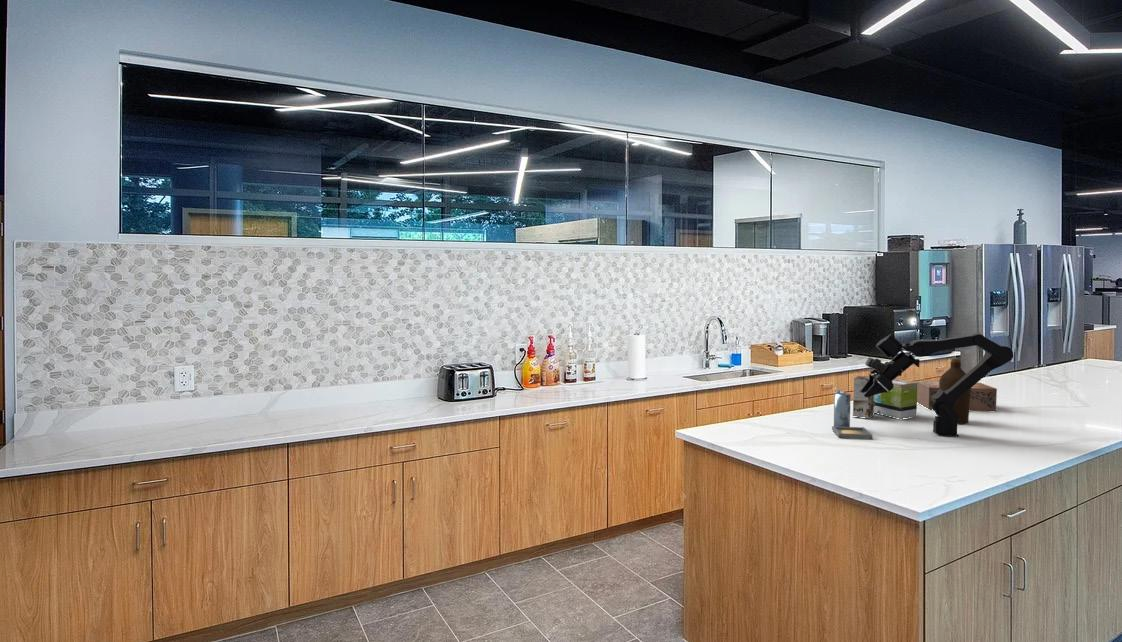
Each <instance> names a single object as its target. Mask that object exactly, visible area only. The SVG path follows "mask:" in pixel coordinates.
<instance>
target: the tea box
mask: <svg viewBox="0 0 1122 642" xmlns="http://www.w3.org/2000/svg"><path fill="white" fill-rule="evenodd" d="M892 382H893V384H894V388H893V389H892V390H890V391H888V390H887V389H886V390H887V392H883V393H880V394H876V395H874V413H879V414H883V415H887V416H891V417H895V418H899V419H903V418H909V417H915V418H917V413H918V412H917V411H918V410H917V408H918V406H917V405H918V404H917V381H910V380H905V379H904V380H903V379H900V378H899V379H898V378H895V379H894V380H893V381H892ZM883 415H882V416H883Z"/></svg>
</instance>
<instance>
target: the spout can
mask: <svg viewBox="0 0 1122 642" xmlns="http://www.w3.org/2000/svg"><path fill="white" fill-rule="evenodd" d="M834 389H835V391H836V392H834V397H833V426H837V427H851V426H850V425H851V393H848V392H846V391H841V390H840V388H838V386H836V387H834Z"/></svg>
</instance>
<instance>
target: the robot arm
mask: <svg viewBox="0 0 1122 642" xmlns="http://www.w3.org/2000/svg"><path fill="white" fill-rule="evenodd" d="M973 346H974V347H975V346H977V347H978V348H980V349H981V350H983V351H984V352H985V353H984V354H983V356H982V358H981V360H980V362H978V363H977V364H976V365H975V366H974V367H973V368H971V369H970V370H969V371H968V372H967V373H966V375H965V376H963V377H962V378H961V379H960V380H959V381H958V382H956V383H955V384H954V385H953V386H952V387H951V388H949V389H948V390H945V391H942V390H941V389H939V390H938V391H937V392H936V394H934V395H932V396H931V397H932V398H931V399H930V401H929V405H930V407H931V408H932V409H933V410H932V411H933V412H935V417H934V420H933V426H932V432H933V433H934V434H936V435H937V436H939V437H960V435H959V434H958V424H957V421H958V416H959V415H958V414H957V413H956V412H955V411H954V410H953V408H954V406H955V405H956V403H957V401H958V399H959V398H960V397H961V396H962V395H963V394H964V393H966V392H967V391H968V390H969V389H970V388H971V387H973V386H974V385H975V384H976V383H979V382H980V381H981V380H982V379H983V378H985V377H986V376H987V375H988V374H989V373H990V372H992V371H993V370H996V369H998V368H1000V367H1002V366H1004V365H1006V364H1007V363H1009V362H1010V361H1011V360H1012V359H1014V352H1013V350H1012V348H1010V347H1009V346H1006V345H1003V344H998V343H996V342H994V341H993V340H992V339H989V338H988V337H986V336H985V335H983V334H981V333H977V332H976V333H975V332H974V333H972V334H968V335H967V334H966V335H961V336H955V337H954V336H953V337H947V338H946V337H945V338H942V339H941V338H940V339H913V340H912V341H910V342H907V343H904V342H903V343H901V342H900V341H899V340H898V339H896V337H895V336H894V334H892V333H890V334H888V335H887V336H885V337H883V338H882V339H880V340H879V341H878V342H877V343H876V344H875V347H876V348H877V349H878V350H879V351H880V352H882V354H884V355H885V357H888V358H889V357H891V358H892V359H891V360H890V361H885V362H884V363H883V362H882V360H881V359H879V358H873V357H870V356H868V358H867V360H866V362H865V364H864V365H865V366H866V367H868V368H872V369H871V370H869V373H868V377H869V380H868V381H867V383H866V384H865V386H864V387H863V388H862V390H861V392H862V393H864V392H866V393H865V394H864V396H865V397H870V396H873V395H876V394H880V393H883V392H887V390H888V391H890V390H892V389H893V388H894V384H893V382H892V381H893V380H894V379H897V378H898V377H901V376H903V373H904V372H905V371H906V370H907V369H909V368H910V367H911V366H912V365H914V366H916V368H919V367H920V361H921V359H919V358H922V357H923V358H924V357H926V356H930V355H933V354H935V353H938V352H940V351H947V350H954V349H960V348H967V347H973ZM903 350H904V351H906V352H908V353H905V352H904V351H903ZM913 355H914V356H916V357H918V358H915V357H914V356H913ZM886 389H887V390H886Z"/></svg>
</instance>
